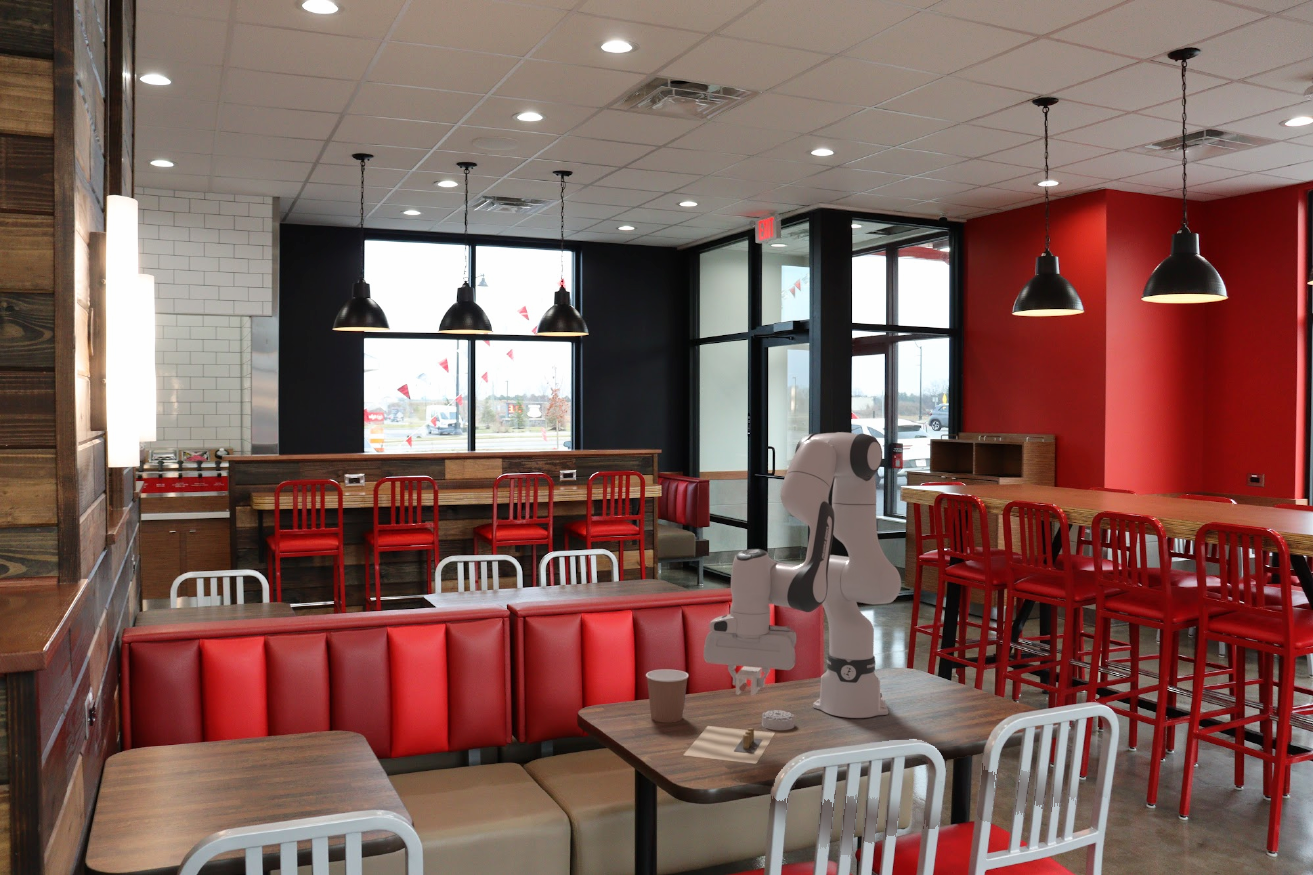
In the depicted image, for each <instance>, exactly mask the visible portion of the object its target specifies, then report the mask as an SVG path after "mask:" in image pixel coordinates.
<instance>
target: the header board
mask: <svg viewBox="0 0 1313 875" xmlns="http://www.w3.org/2000/svg"><path fill="white" fill-rule="evenodd" d="M775 734H776V732H772V731H771V732H769V731H761V730H755V728H754V727H748V728H747V729H740V728H732V727H723V726H714V725H713V726H711V725H707V726H706V727H705V728H704V730H702V733H701V734H699V736H698V737H697V738H696V739H695V741H693V743H692V744H691V745H690V746H689V748H688V749H687V750H685V752H684V753H683V755H682V756H684V757H685V756H686V757H694V758H701V759H712V760H719V761H729V762H737V763H738V762H739V763H747V764H754V765H756V764H757V763H758V762H759V761H760V759H761V757H762V755H763V753H765V751H766V749H767V747H768V745H769V744H770V743H771V741H772V739H773V738H774V736H775Z"/></svg>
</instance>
